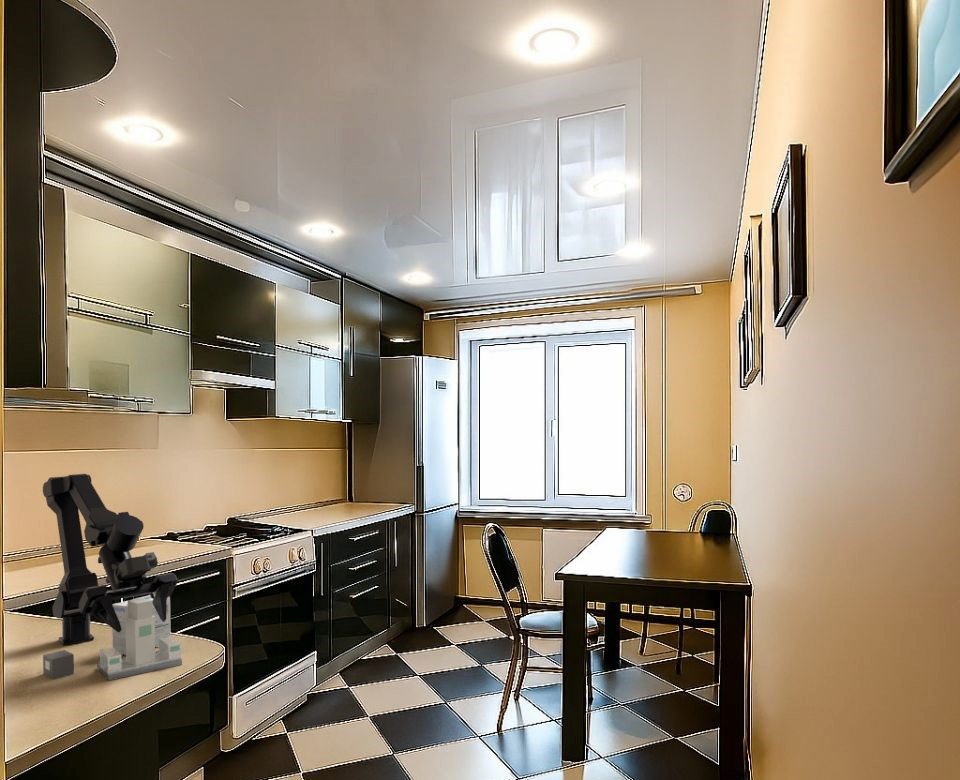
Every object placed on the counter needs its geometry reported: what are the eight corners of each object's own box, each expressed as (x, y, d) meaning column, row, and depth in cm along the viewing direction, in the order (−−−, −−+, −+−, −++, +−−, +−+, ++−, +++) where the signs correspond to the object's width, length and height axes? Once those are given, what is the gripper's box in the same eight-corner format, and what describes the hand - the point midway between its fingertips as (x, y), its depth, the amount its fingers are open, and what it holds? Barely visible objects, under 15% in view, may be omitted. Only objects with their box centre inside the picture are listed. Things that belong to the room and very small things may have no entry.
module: (126, 661, 154) (125, 601, 154) (145, 656, 157) (144, 597, 157) (136, 665, 151) (135, 604, 151) (155, 660, 154) (154, 600, 154)
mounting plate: (97, 668, 154) (96, 646, 154) (167, 653, 163) (167, 633, 163) (108, 680, 146) (108, 658, 146) (182, 664, 155) (181, 643, 155)
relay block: (42, 674, 151) (42, 654, 152) (64, 669, 155) (64, 649, 155) (52, 679, 148) (51, 659, 148) (73, 674, 151) (73, 654, 151)
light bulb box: (153, 639, 174) (153, 593, 175) (172, 643, 171) (171, 595, 171) (110, 652, 165) (110, 603, 165) (129, 656, 162) (128, 606, 162)
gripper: (83, 548, 150) (107, 611, 143) (173, 535, 164) (199, 592, 157) (69, 582, 155) (91, 645, 148) (157, 567, 169) (181, 624, 162)
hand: (142, 625), depth 153 cm, fingers open, 9 cm apart
